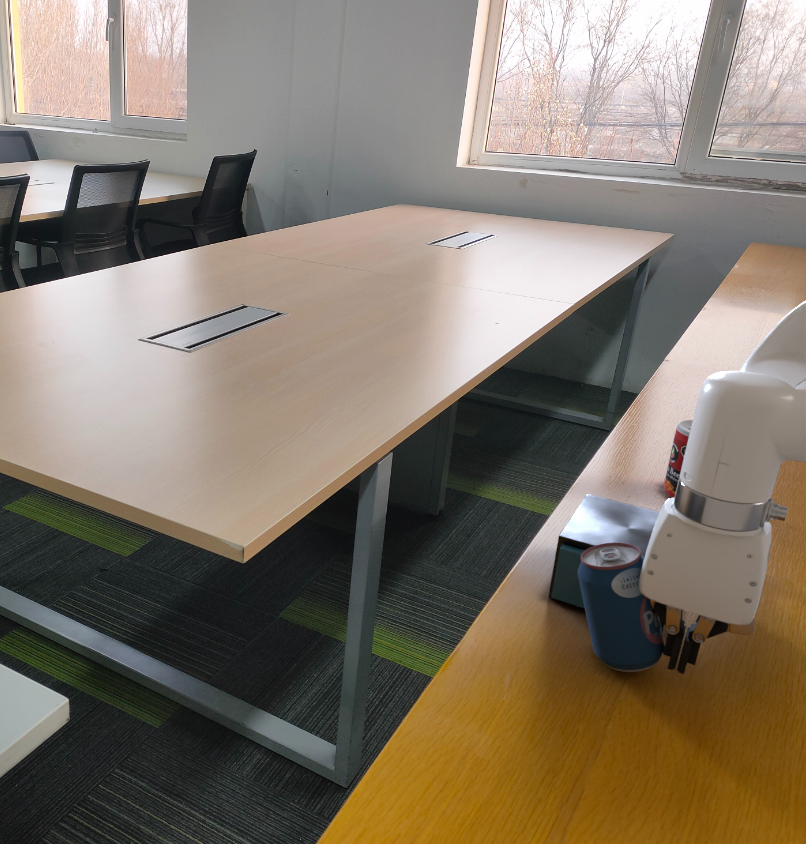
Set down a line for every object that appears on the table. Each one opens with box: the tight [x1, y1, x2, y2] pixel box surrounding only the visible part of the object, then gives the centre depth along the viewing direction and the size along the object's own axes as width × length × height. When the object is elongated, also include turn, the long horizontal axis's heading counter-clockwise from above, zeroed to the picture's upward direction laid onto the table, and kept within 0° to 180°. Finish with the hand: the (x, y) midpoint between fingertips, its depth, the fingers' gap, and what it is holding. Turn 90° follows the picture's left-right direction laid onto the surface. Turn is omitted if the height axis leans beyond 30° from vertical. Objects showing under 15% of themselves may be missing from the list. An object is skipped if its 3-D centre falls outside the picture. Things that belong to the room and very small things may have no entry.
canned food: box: [663, 419, 693, 498], centre depth 121 cm, size 8×8×11 cm
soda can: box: [578, 543, 665, 673], centre depth 84 cm, size 7×7×12 cm
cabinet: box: [547, 493, 666, 633], centre depth 97 cm, size 14×13×9 cm
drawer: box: [552, 544, 587, 609], centre depth 95 cm, size 14×11×7 cm
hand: (677, 664), depth 82 cm, fingers closed
